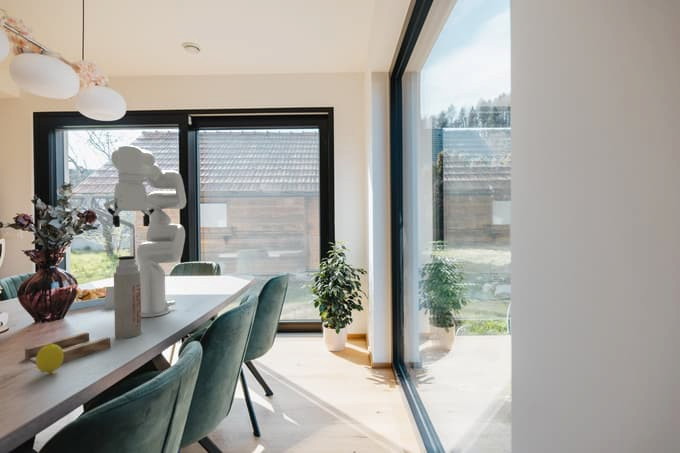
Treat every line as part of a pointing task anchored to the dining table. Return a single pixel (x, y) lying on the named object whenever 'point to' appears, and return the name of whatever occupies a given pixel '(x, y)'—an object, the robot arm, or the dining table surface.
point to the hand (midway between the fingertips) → (132, 226)
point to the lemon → (49, 358)
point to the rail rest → (72, 347)
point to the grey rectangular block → (109, 298)
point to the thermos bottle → (127, 298)
